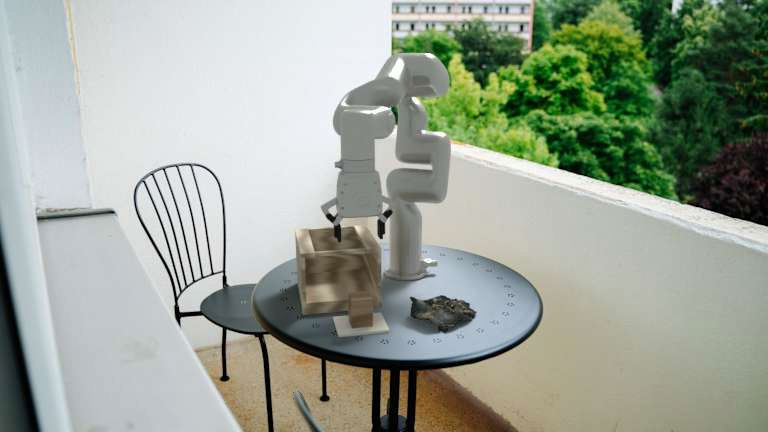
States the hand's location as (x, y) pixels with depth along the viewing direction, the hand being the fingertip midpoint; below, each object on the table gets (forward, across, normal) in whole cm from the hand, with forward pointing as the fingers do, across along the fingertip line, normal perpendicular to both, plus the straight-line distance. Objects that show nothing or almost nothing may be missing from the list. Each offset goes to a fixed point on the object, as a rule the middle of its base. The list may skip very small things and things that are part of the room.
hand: (359, 239), depth 133 cm
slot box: (+22, -3, +19) cm, 29 cm away
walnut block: (+21, 0, 0) cm, 21 cm away
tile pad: (+22, 0, -1) cm, 22 cm away
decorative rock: (+22, +21, +1) cm, 30 cm away
